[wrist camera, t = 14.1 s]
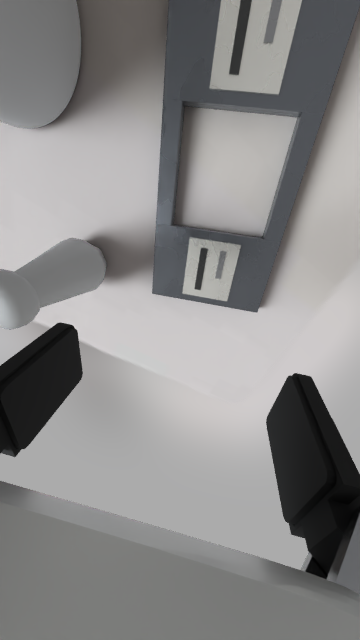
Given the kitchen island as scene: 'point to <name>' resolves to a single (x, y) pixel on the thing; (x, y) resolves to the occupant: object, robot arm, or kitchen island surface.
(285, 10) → the label board
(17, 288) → the salt shaker
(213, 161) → the kitchen island surface
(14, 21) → the cylinder vase
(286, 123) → the kitchen island surface
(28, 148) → the kitchen island surface
